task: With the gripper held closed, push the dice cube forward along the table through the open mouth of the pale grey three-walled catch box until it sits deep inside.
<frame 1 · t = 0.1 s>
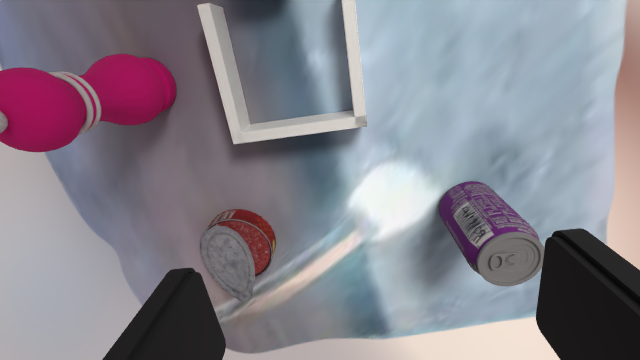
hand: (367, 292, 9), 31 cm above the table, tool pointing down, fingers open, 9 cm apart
beverage can: (465, 203, 42), on the table
canned food: (242, 238, 46), on the table
pepper mill: (151, 85, 38), on the table
catch box: (292, 66, 36), on the table
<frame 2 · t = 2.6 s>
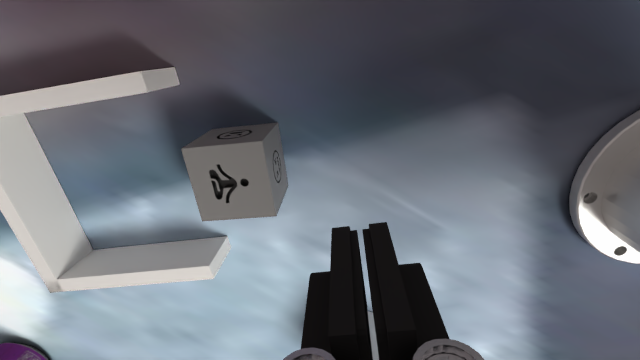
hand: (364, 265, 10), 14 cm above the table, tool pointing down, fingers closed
skincare box: (382, 338, 31), on the table
beverage can: (30, 358, 36), on the table
catch box: (124, 178, 26), on the table
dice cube: (252, 156, 25), on the table
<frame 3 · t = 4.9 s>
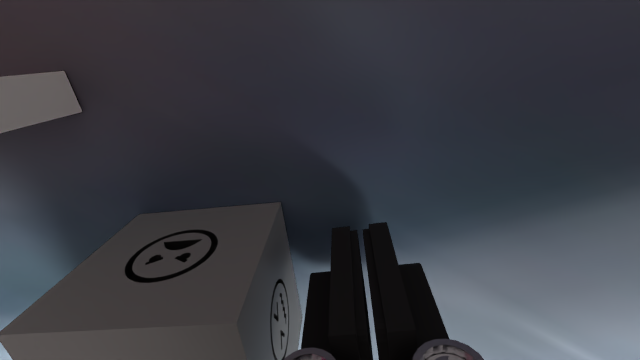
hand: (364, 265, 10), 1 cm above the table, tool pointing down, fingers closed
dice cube: (227, 264, 12), on the table, touching gripper
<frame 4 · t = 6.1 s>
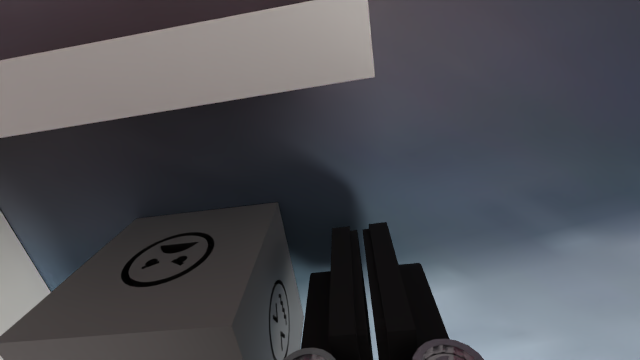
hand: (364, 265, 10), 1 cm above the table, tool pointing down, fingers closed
catch box: (189, 274, 12), on the table
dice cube: (226, 267, 12), on the table, touching gripper
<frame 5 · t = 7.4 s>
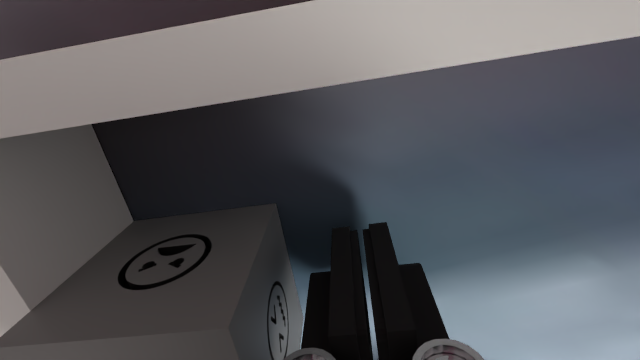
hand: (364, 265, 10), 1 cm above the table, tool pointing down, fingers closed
catch box: (312, 262, 11), on the table
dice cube: (225, 268, 12), on the table, touching catch box, gripper
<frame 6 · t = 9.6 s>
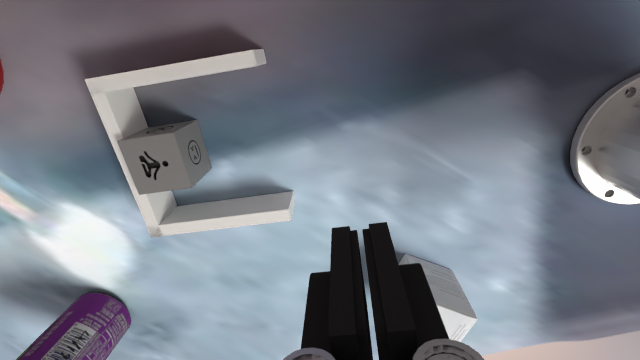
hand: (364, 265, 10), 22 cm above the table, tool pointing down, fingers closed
skincare box: (415, 278, 37), on the table
beverage can: (107, 308, 41), on the table
catch box: (211, 142, 31), on the table
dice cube: (182, 147, 32), on the table
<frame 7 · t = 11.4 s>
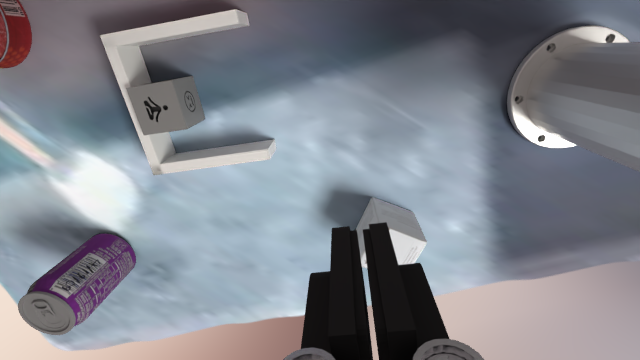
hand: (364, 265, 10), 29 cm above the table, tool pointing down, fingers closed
skincare box: (382, 220, 43), on the table
beverage can: (115, 250, 47), on the table
catch box: (205, 95, 37), on the table
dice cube: (180, 100, 38), on the table
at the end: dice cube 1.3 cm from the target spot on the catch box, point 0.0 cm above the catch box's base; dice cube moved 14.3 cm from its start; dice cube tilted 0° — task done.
